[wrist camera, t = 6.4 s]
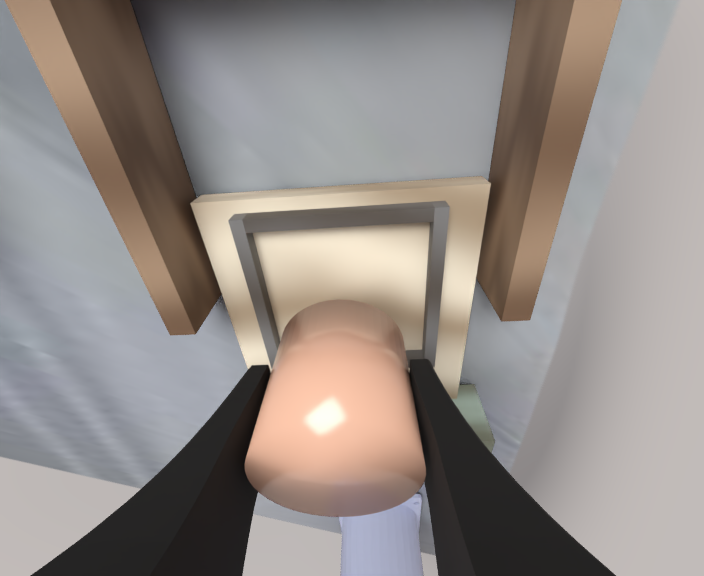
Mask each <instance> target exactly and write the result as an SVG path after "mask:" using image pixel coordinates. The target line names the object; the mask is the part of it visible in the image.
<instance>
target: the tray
mask: <svg viewBox="0 0 704 576" xmlns="http://www.w3.org/2000/svg"><path fill="white" fill-rule="evenodd" d="M490 186H491V183H490V182H488V181H487V180H486V179H485V178H483V177H482V176H476V177H461V178H446V179H431V180H416V181H401V182H386V183H371V184H356V185H341V186H326V187H311V188H296V189H281V190H266V191H251V192H236V193H221V194H206V195H201V196H199V197H198V198H197V199H195V200H194V201H193V202H191V203H190V204H191V207H192V210H193V213H194V215H195V218H196V221H197V224H198V227H199V230H200V233H201V236H202V238H203V241H204V244H205V247H206V250H207V253H208V256H209V258H210V261H211V264H212V267H213V270H214V273H215V276H216V279H217V281H218V284H219V287H220V290H221V293H222V296H223V299H224V301H225V304H226V307H227V310H228V313H229V316H230V319H231V322H232V324H233V327H234V330H235V333H236V336H237V339H238V342H239V344H240V347H241V350H242V353H243V356H244V359H245V362H246V365H247V367H248V369H249V368H250V367H251V366H252V365H269V368H270V372H271V371H272V368H273V364H274V361H275V358H276V354H277V351H278V347H279V344H280V341H281V337H282V334H283V331H284V329H285V327H286V325H287V324H288V322H289V321H290V320H291V319H292V317H293V316H295V315H296V314H297V313H298V312H300V311H301V310H303V309H304V308H306V307H308V306H310V305H313V304H316V303H319V302H323V301H328V300H337V299H342V300H354V301H359V302H363V303H366V304H369V305H372V306H374V307H376V308H378V309H380V310H381V311H383V312H385V313H386V314H387V315H388V316H390V317H391V318H392V319H393V320H394V322H395V323H396V324H397V325H398V327H399V329H400V330H401V333H402V335H403V339H404V344H405V350H406V356H407V361H408V367H409V373H410V359H428V360H429V361H430V362H431V364H432V366H433V368H434V370H435V372H436V374H437V375H438V377H439V379H440V381H441V382H442V384H443V386H444V388H445V389H446V391H447V392H448V394H449V396H450V397H451V399H452V400H453V402H454V403H455V405H456V406H457V408H458V409H459V411H460V412H461V414H462V415H463V417H464V418H465V419H466V421H467V422H468V424H469V425H470V426H471V428H472V429H473V430H474V432H475V433H476V434H477V436H478V437H479V438H480V439H481V441H482V442H483V443H484V445H485V446H486V447H487V448H488V450H489V451H490V452H491V453H492V450H493V446H494V443H495V439H494V437H493V434H492V431H491V429H490V426H489V423H488V420H487V418H486V415H485V412H484V410H483V407H482V404H481V402H480V399H479V396H478V394H477V391H476V388H475V385H474V384H468V385H459V382H460V376H461V369H462V363H463V357H464V350H465V344H466V338H467V331H468V325H469V319H470V313H471V306H472V300H473V294H474V287H475V281H476V275H477V268H478V262H479V256H480V249H481V243H482V237H483V230H484V224H485V218H486V211H487V205H488V199H489V193H490Z"/></svg>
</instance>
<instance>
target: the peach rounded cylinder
mask: <svg viewBox="0 0 704 576" xmlns="http://www.w3.org/2000/svg"><path fill="white" fill-rule="evenodd" d="M245 472H246V476H247V478H248V480H249V482H250V483H251V484H252V486H253V487H254V488H255V489H256V490H257V491H258V492H259V493H260V494H262V495H263V496H265V497H266V498H267V499H269V500H271V501H273V502H274V503H277V504H279V505H281V506H283V507H286V508H289V509H292V510H295V511H299V512H302V513H307V514H312V515H319V516H329V517H353V516H362V515H369V514H374V513H378V512H382V511H385V510H388V509H391V508H393V507H396V506H398V505H400V504H402V503H404V502H406V501H407V500H408V499H410V498H411V497H413V496H414V495H415V494H416V493H417V492H418V491H419V489H420V488H421V487H422V485H423V483H424V481H425V477H426V466H425V460H424V455H423V449H422V443H421V437H420V431H419V425H418V420H417V414H416V408H415V402H414V397H413V391H412V385H411V379H410V373H409V367H408V361H407V356H406V350H405V344H404V339H403V335H402V333H401V330H400V329H399V327H398V325H397V324H396V323H395V322H394V320H393V319H392V318H391V317H390V316H388V315H387V314H386V313H385V312H383V311H381V310H380V309H378V308H376V307H374V306H372V305H369V304H366V303H363V302H359V301H354V300H342V299H337V300H328V301H323V302H319V303H316V304H313V305H310V306H308V307H306V308H304V309H303V310H301V311H300V312H298V313H297V314H296V315H295V316H293V317H292V319H291V320H290V321H289V322H288V324H287V325H286V327H285V329H284V331H283V334H282V337H281V341H280V344H279V347H278V351H277V354H276V358H275V361H274V364H273V368H272V371H271V374H270V378H269V381H268V385H267V388H266V391H265V395H264V398H263V402H262V405H261V408H260V412H259V415H258V418H257V422H256V425H255V429H254V432H253V435H252V439H251V442H250V446H249V449H248V452H247V456H246V460H245Z"/></svg>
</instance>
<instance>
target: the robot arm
mask: <svg viewBox="0 0 704 576" xmlns="http://www.w3.org/2000/svg"><path fill="white" fill-rule="evenodd" d="M270 374H271V372H270V368H269V365H252V366H251V367H250V368H249V369H248V370H247V372H246V373H245V374H244V376H243V377H242V378H241V380H240V381H239V382H238V384H237V385H236V386H235V388H234V389H233V390H232V391H231V393H230V394H229V395H228V397H227V398H226V399H225V400H224V402H223V403H222V404H221V405H220V407H219V408H218V409H217V410H216V411H215V413H214V414H213V415H212V416H211V418H210V419H209V420H208V421H207V422H206V423H205V425H204V426H203V427H202V428H201V429H200V430H199V431H198V432H197V434H196V435H195V436H194V437H193V438H192V439H191V440H190V441H189V443H188V444H187V445H186V446H185V447H184V448H183V449H182V450H181V451H180V452H179V453H178V454H177V455H176V456H175V457H174V458H173V459H172V460H171V461H170V462H169V463H168V464H167V465H166V466H165V467H164V468H163V469H162V470H161V471H160V472H159V473H158V474H157V475H156V476H155V477H154V478H153V479H151V480H150V481H149V482H148V483H147V484H146V485H145V486H144V487H143V488H142V489H141V490H140V491H138V492H137V493H136V494H135V495H134V496H133V497H132V498H131V499H129V500H128V501H127V502H126V503H125V504H124V505H122V506H121V507H120V508H119V509H117V510H116V511H115V512H114V513H113V514H111V515H110V516H109V517H108V518H106V519H105V520H104V521H103V522H102V523H100V524H99V525H98V526H97V527H96V528H94V529H93V530H92V531H90V532H89V533H88V534H87V535H85V536H84V537H83V538H81V539H80V540H79V541H77V542H76V543H75V544H74V545H72V546H71V547H69V548H68V549H67V550H65V551H64V552H63V553H61V554H60V555H59V556H57V557H56V558H54V559H53V560H52V561H50V562H49V563H48V564H46V565H45V566H43V567H42V568H41V569H39V570H38V571H37V572H35V573H34V574H32V575H31V576H242V573H243V567H244V561H245V555H246V549H247V543H248V538H249V532H250V526H251V521H252V516H253V511H254V506H255V502H256V497H257V493H258V491H257V490H256V489H255V488H254V487H253V486H252V484H251V483H250V482H249V480H248V478H247V476H246V472H245V460H246V456H247V452H248V449H249V446H250V442H251V439H252V435H253V432H254V429H255V425H256V422H257V418H258V415H259V412H260V408H261V405H262V402H263V398H264V395H265V391H266V388H267V385H268V381H269V378H270ZM410 379H411V385H412V391H413V397H414V402H415V408H416V414H417V420H418V425H419V431H420V437H421V443H422V449H423V455H424V460H425V466H426V477H425V481H424V482H425V487H426V492H427V497H428V502H429V508H430V516H431V523H432V530H433V537H434V545H435V553H436V560H437V568H438V575H439V576H616V575H615V574H613V573H612V572H611V571H610V570H609V569H608V568H607V567H606V566H604V565H603V564H602V563H601V562H600V561H599V560H597V559H596V558H595V557H594V556H593V555H592V554H591V553H589V552H588V551H587V550H586V549H585V548H584V547H583V546H582V545H581V544H579V543H578V542H577V541H576V540H575V539H574V538H573V537H572V536H571V535H570V534H568V532H567V531H565V530H564V529H563V528H562V527H561V526H560V525H559V524H558V523H557V522H556V521H555V520H554V519H553V518H552V517H551V516H550V515H548V513H547V512H546V511H545V510H544V509H543V508H542V507H541V506H540V505H539V504H538V503H537V502H536V501H535V500H534V499H533V498H532V497H531V496H530V495H529V494H528V493H527V492H526V491H525V490H524V489H523V488H522V487H521V486H520V485H519V484H518V483H517V482H516V481H515V479H514V478H513V477H512V476H511V475H510V474H509V473H508V472H507V471H506V469H505V468H504V467H503V466H502V465H501V464H500V463H499V461H498V460H497V459H496V458H495V457H494V456H493V454H492V453H491V452H490V451H489V450H488V448H487V447H486V446H485V445H484V443H483V442H482V441H481V439H480V438H479V437H478V436H477V434H476V433H475V432H474V430H473V429H472V428H471V426H470V425H469V424H468V422H467V421H466V419H465V418H464V417H463V415H462V414H461V412H460V411H459V409H458V408H457V406H456V405H455V403H454V402H453V400H452V399H451V397H450V396H449V394H448V392H447V391H446V389H445V388H444V386H443V384H442V382H441V381H440V379H439V377H438V375H437V374H436V372H435V370H434V368H433V366H432V364H431V362H430V361H429V360H428V359H410ZM421 504H422V498H421V495H420V494H415V495H414V496H413V497H411V498H410V499H408V500H407V501H406V502H404V503H402V504H400V505H398V506H396V507H393V508H391V509H388V510H385V511H382V512H378V513H374V514H369V515H362V516H353V517H339V521H340V526H341V531H342V550H341V576H424V575H423V568H422V559H421V551H420V543H419V526H420V515H421Z"/></svg>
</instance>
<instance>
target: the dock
mask: <svg viewBox="0 0 704 576" xmlns="http://www.w3.org/2000/svg"><path fill="white" fill-rule="evenodd" d="M5 2H6V4H7V6H8V8H9V10H10V12H11V14H12V16H13V18H14V20H15V22H16V24H17V26H18V28H19V30H20V32H21V34H22V36H23V38H24V40H25V42H26V44H27V46H28V48H29V51H30V53H31V55H32V57H33V59H34V61H35V63H36V65H37V67H38V69H39V71H40V73H41V75H42V77H43V79H44V81H45V83H46V85H47V87H48V89H49V91H50V93H51V95H52V97H53V99H54V101H55V103H56V105H57V107H58V109H59V111H60V113H61V115H62V117H63V119H64V121H65V123H66V125H67V127H68V129H69V131H70V133H71V135H72V138H73V140H74V142H75V144H76V146H77V148H78V150H79V152H80V154H81V156H82V158H83V160H84V162H85V164H86V166H87V168H88V170H89V172H90V174H91V176H92V178H93V180H94V182H95V184H96V186H97V188H98V190H99V192H100V194H101V196H102V198H103V200H104V202H105V204H106V206H107V208H108V210H109V212H110V214H111V216H112V218H113V220H114V223H115V225H116V227H117V229H118V231H119V233H120V235H121V237H122V239H123V241H124V243H125V245H126V247H127V249H128V251H129V253H130V255H131V257H132V259H133V261H134V263H135V265H136V267H137V269H138V271H139V273H140V275H141V277H142V279H143V281H144V283H145V285H146V287H147V289H148V291H149V293H150V295H151V297H152V299H153V301H154V303H155V305H156V308H157V310H158V312H159V314H160V316H161V318H162V320H163V322H164V324H165V326H166V328H167V330H168V332H169V334H170V335H189V334H196V333H197V331H198V330H199V328H200V327H201V325H202V324H203V322H204V320H205V319H206V317H207V316H208V314H209V313H210V311H211V309H212V308H213V306H214V305H215V303H216V302H217V300H218V298H219V297H220V295H221V294H222V293H221V290H220V287H219V284H218V281H217V279H216V276H215V273H214V270H213V267H212V264H211V261H210V258H209V256H208V253H207V250H206V247H205V244H204V241H203V238H202V236H201V233H200V230H199V227H198V224H197V221H196V218H195V215H194V213H193V210H192V207H191V204H190V203H191V202H193V201H194V200H195V199H196V196H195V193H194V190H193V187H192V184H191V181H190V178H189V175H188V172H187V169H186V166H185V163H184V160H183V157H182V154H181V151H180V148H179V145H178V142H177V139H176V136H175V133H174V130H173V127H172V124H171V121H170V118H169V115H168V112H167V109H166V106H165V103H164V100H163V97H162V94H161V91H160V88H159V85H158V82H157V79H156V76H155V73H154V70H153V67H152V64H151V61H150V58H149V55H148V52H147V50H146V47H145V44H144V41H143V38H142V35H141V32H140V29H139V26H138V23H137V20H136V17H135V14H134V11H133V8H132V5H131V2H130V0H5ZM621 2H622V0H516V5H515V12H514V18H513V25H512V31H511V38H510V44H509V51H508V57H507V64H506V70H505V77H504V83H503V90H502V96H501V103H500V109H499V116H498V122H497V129H496V135H495V142H494V148H493V155H492V161H491V168H490V174H489V181H488V182H490V183H491V186H490V193H489V199H488V205H487V211H486V218H485V224H484V230H483V237H482V243H481V249H480V256H479V262H478V268H477V275H476V278H477V280H478V282H479V283H480V285H481V287H482V289H483V290H484V292H485V294H486V296H487V297H488V299H489V301H490V302H491V304H492V306H493V308H494V309H495V311H496V313H497V315H498V316H499V318H500V320H501V321H523V320H530V318H531V315H532V312H533V308H534V305H535V301H536V298H537V294H538V291H539V287H540V284H541V280H542V277H543V273H544V270H545V266H546V263H547V259H548V256H549V252H550V249H551V245H552V242H553V239H554V235H555V232H556V228H557V225H558V221H559V218H560V214H561V211H562V207H563V204H564V200H565V197H566V193H567V190H568V186H569V183H570V179H571V176H572V172H573V169H574V166H575V162H576V159H577V155H578V152H579V148H580V145H581V141H582V138H583V134H584V131H585V127H586V124H587V120H588V117H589V113H590V110H591V106H592V103H593V99H594V96H595V93H596V89H597V86H598V82H599V79H600V75H601V72H602V68H603V65H604V61H605V58H606V54H607V51H608V47H609V44H610V40H611V37H612V33H613V30H614V26H615V23H616V20H617V16H618V13H619V9H620V6H621Z"/></svg>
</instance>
